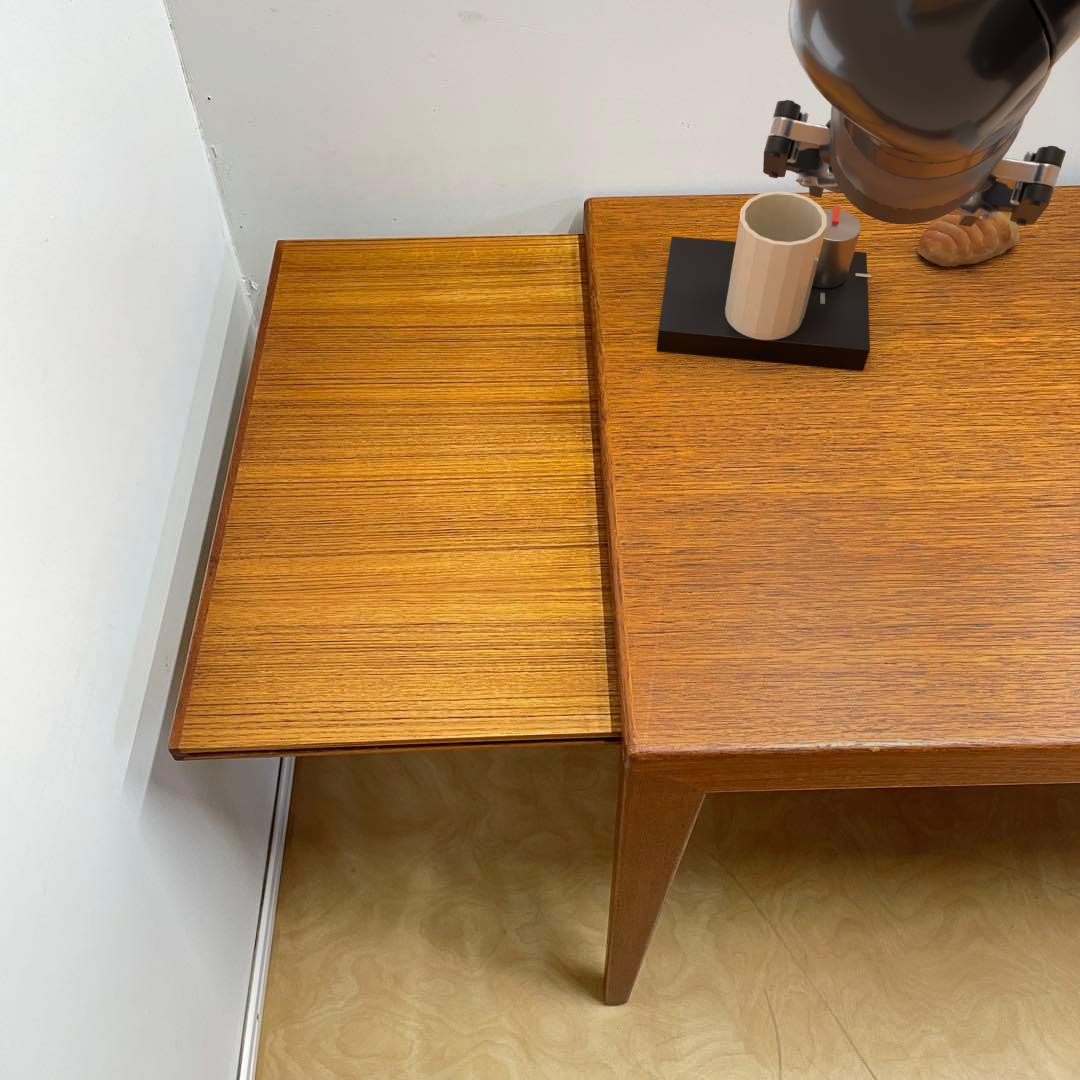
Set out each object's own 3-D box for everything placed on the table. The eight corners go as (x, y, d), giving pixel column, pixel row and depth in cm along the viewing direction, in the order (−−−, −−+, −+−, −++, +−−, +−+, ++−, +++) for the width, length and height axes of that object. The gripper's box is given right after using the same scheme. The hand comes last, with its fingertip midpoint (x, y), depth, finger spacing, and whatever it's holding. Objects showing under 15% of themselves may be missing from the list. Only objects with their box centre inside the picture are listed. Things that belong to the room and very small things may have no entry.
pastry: (948, 284, 92) (961, 250, 89) (897, 246, 96) (907, 212, 93) (1020, 248, 95) (1035, 214, 92) (967, 212, 98) (980, 178, 95)
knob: (846, 291, 88) (860, 240, 84) (796, 285, 89) (808, 234, 84) (848, 259, 91) (862, 208, 86) (799, 254, 91) (811, 203, 87)
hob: (863, 268, 94) (870, 245, 92) (866, 371, 86) (874, 348, 84) (670, 252, 96) (672, 229, 94) (656, 351, 88) (658, 328, 86)
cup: (803, 291, 89) (826, 194, 80) (802, 343, 85) (826, 248, 77) (726, 284, 89) (742, 188, 81) (722, 336, 85) (738, 240, 77)
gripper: (734, 175, 44) (755, 234, 60) (1070, 239, 41) (1001, 284, 57) (780, -3, 43) (790, 104, 58) (1132, 50, 40) (1044, 148, 55)
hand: (894, 193), depth 57 cm, fingers open, 8 cm apart
